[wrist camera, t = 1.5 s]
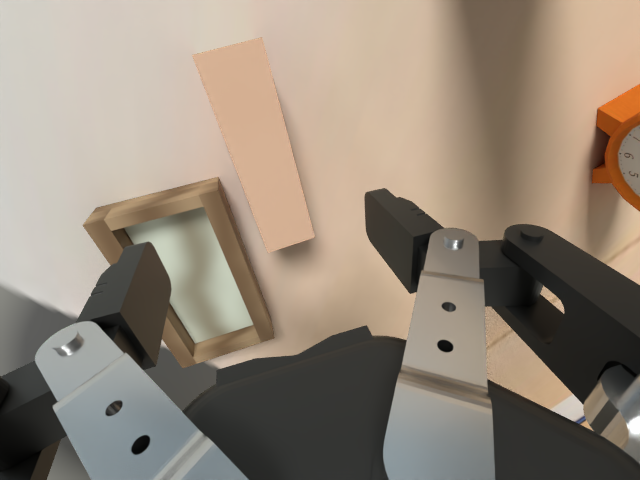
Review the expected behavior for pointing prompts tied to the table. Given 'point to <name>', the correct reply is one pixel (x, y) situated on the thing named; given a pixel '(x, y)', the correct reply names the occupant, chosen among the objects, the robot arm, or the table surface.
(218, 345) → the picture frame
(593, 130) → the table surface
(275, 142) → the strip
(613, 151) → the alarm clock
